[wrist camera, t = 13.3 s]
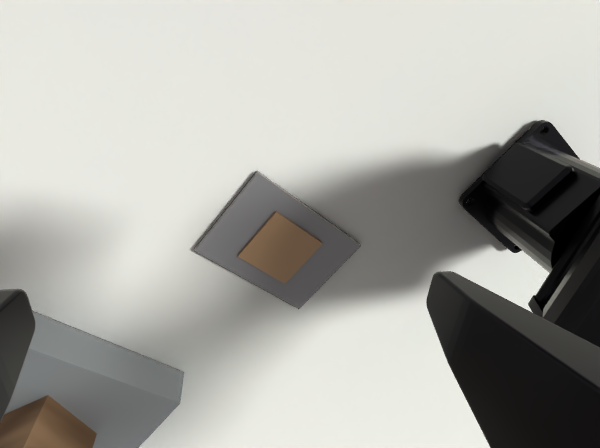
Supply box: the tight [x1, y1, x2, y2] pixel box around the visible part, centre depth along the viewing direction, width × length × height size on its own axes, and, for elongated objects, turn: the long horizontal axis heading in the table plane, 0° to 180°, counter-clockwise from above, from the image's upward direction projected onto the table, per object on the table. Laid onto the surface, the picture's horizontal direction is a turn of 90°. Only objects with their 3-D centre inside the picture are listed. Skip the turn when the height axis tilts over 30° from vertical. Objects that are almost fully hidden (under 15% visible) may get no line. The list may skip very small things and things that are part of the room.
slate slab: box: [5, 311, 184, 448], centre depth 26 cm, size 12×12×2 cm
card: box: [194, 171, 361, 309], centre depth 23 cm, size 8×6×1 cm
